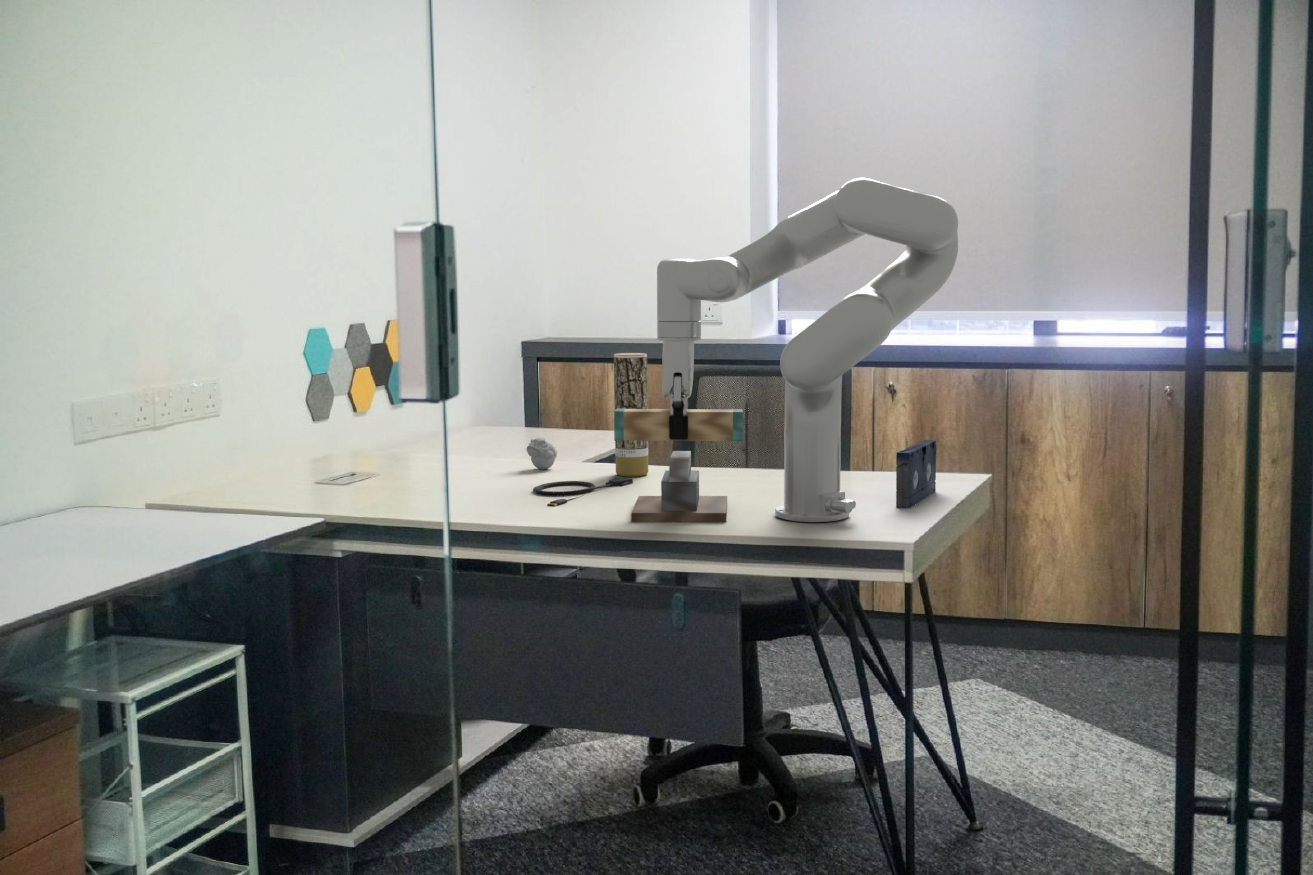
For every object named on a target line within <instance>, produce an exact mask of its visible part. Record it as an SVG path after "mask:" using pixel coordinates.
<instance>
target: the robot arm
mask: <svg viewBox="0 0 1313 875" xmlns="http://www.w3.org/2000/svg"><path fill="white" fill-rule="evenodd" d="M958 229H959V218H958V215H957V211H956V209H955V208H954V206H952V204H950V202H948V201H947V200H945V199H944V198H942V197H939V196H937V195H936V196H935V195H931V194H926V193H925V192H924V193H922V192H920V191H915V190H912V189H908V188H903V187H900V186H897V185H896V186H895V185H892V184H889V183H886V182H883V181H882V182H881V181H878V180H875V179H871V178H866V177H858V178H853V179H851V180H849V181H847V182H845V183H844V184H843V185H842V186H841V187H840V189H837V190H836V191H835V192H832V193H831V194H829V195H827V196H825V197H824V198H822V199H820V200H818V201H816V202H814V203H812V204H810V205H808V206H806V207H805V208H802V209H801V210H798V211H797V212H794V213H792V214H791V215H788V216H787V217H786V218H784V219H783V220H781V221H780V222H778V223H777V225H775V227H773V228H772V229H771V230H770V231H769V232H768V233H767V234H764V235H763V236H762V237H760V238H759V239H757V240H755V241H753V242H751V243H750V244H748V245H746V246H744V247H742V248H740V249H738V250H737V251H734V252H732V253H731V254H729V255H727V256H724V257H721V256H720V257H713V258H707V259H700V260H699V259H698V260H697V259H694V258H668V259H663V260H660V261H659V263H658V264H657V268H656V313H657V314H656V320H657V321H656V331H657V332H656V334H657V335H656V336H657V337H656V339H657V341H659V342H660V341H662V342H663V343H662V353H661V354H662V356H661V358H662V359H661V360H662V362H661V363H662V364H661V365H662V366H661V367H662V368H661V371H662V372H661V374H662V375H661V398H663V399H666V398H667V397H668V396H670V397H669V398H670V399H669V400H670V407H669V409H670V416H669V438H670V439H671V440H686V439H688V416H686V409H689V398H690V397H691V395H692V393H693V382H694V371H695V370H694V369H695V367H694V366H695V365H694V364H695V361H694V360H695V342H696V341H701V340H702V321H701V320H702V301H704V302H705V301H707V302H712V303H713V302H714V303H727V302H730V301H735V300H738V299H740V298H741V297H744V296H746V295H747V294H750V293H751V292H753V291H755V290H757V289H759V288H761V287H763V286H764V285H766V284H768V283H771V282H773V281H775V280H776V279H778V278H780V277H782V276H784V275H785V274H788V273H790V272H793V271H795V270H798V269H801V268H803V267H806V266H807V265H809V264H811V263H813V262H815V261H816V260H818V259H820V258H822V257H824V256H826V255H828V254H830V253H831V252H834V251H836V250H837V249H839V248H841V247H843V246H845V245H847V244H849V243H852V242H853V241H855V240H857V239H859V238H860V237H862V236H863V237H864V236H865V235H868V236H870V237H874V238H878V239H881V240H885V241H889V242H893V243H896V244H901V245H905V246H906V247H905V249H904V251H903V252H902V254H901V255H900V256H899V257H897V258H896V260H895V261H893V262H892V263H891V264H889V265H888V266H887V267H886V268H884V270H882V271H881V272H880V273H878V275H876V276H875V277H873V279H872V280H870V281H869V282H868V283H866V284H864V285H863V286H862V287H860V289H858V290H856V291H853V292H852V293H849V294H848V295H846V296H845V297H843V298H842V299H841V300H839V301H838V302H837V303H836V304H835V305H834V306H832V307H830V309H828V311H826V312H825V313H823V314H822V315H821V316H820V317H818V318H817V319H815V321H813V322H812V323H811V324H809V325H808V326H807V327H806V328H804V329H803V330H802V331H801V332H800V333H798V334H797V335H796V336H794V337H793V338H792V339H791V340H790V341H788V342H787V344H786V345H785V346H784V348H783V350H782V351H781V355H780V358H779V360H780V361H779V367H780V372H781V375H782V378H784V381H785V382H784V383H785V385H784V387H785V388H784V441H783V442H784V445H783V446H784V452H783V453H784V454H783V455H784V456H783V457H784V458H783V459H784V460H783V461H784V463H783V464H784V466H783V467H784V468H783V469H784V470H783V471H784V472H783V478H784V479H783V480H784V481H783V482H784V483H783V484H784V488H783V489H784V491H783V494H784V496H783V500H784V501H783V504H781V505H778V506H776V508H775V510H774V516H776V517H777V518H779V519H782V520H785V521H791V522H800V523H803V522H804V523H825V522H826V523H827V522H838V521H842V520H845V519H847V518H849V516H850V514H851V513H852V511H853V510H854V509H855V508H856V507H857V506H856V505H857V504H856V503H857V502H856V501H855V500H852V499H846V491H845V490H841V452H842V451H841V448H842V447H841V444H842V443H841V442H842V441H841V436H842V431H841V430H842V390H843V389H842V388H843V387H842V386H843V384H842V382H843V375H844V374H846V373H847V372H848V371H850V370H851V369H852V368H853V367H854V366H855V365H857V364H858V363H860V361H862V360H863V359H865V358H866V357H867V356H868V355H869V354H871V353H873V351H875V350H876V349H877V348H878V347H880V345H882V344H883V343H884V342H885V341H886V339H887V338H889V335H890V334H891V332H892V331H893V330H894V329H895V328H896V327H898V325H900V324H901V323H902V322H904V320H906V319H908V318H909V316H911V315H912V314H913V313H914V312H916V311H917V310H918V309H919V308H920V307H922V306H923V305H924V304H925V303H926V302H928V300H930V299H931V298H932V297H933V296H934V295H936V293H937V292H939V291H940V289H941V288H942V287H943V286H944V285H945V283H946V282H947V280H948V279H949V278H950V276H951V275H952V272H953V270H954V267H955V265H956V262H957V258H958V257H957V256H958V253H959V252H958V251H959V236H958V235H959V234H958Z"/></svg>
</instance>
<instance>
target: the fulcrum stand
mask: <svg viewBox="0 0 1313 875" xmlns="http://www.w3.org/2000/svg"><path fill="white" fill-rule="evenodd" d="M668 463H669V464H668V468H669V469H666V470H664V473H663V477H662V479H661V482H660V493H661V494H660V495H638V497H637V499H636V501H635V503H634V506H633V509H632V510H631V513H630V514H631V515H630V518H631V519H630V522H633V523H634V522H635V523H637V522H639V523H642V522H643V523H646V522H647V523H649V522H651V523H652V522H653V523H654V522H655V523H656V522H657V523H659V522H662V523H666V522H668V523H669V522H670V523H675V522H676V523H695V522H696V523H726V522H727V513H728V496H727V495H700V470H699V469H697V470H692V451H691V450H673V451H672V452H671V455H670V458H669V462H668Z"/></svg>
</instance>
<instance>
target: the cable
mask: <svg viewBox="0 0 1313 875" xmlns="http://www.w3.org/2000/svg"><path fill="white" fill-rule="evenodd" d="M633 480H634V479H633V477H622V476H620V477H619V476H615V477H614V478H611V479H609V480H608V481H607V482H605V484H603V485H599V486H596V485H595V484H594V483H593V482H588V481H583V480H565V481H563V480H562V481H554V482H553V481H552V482H547V483H541V484H539V485H537V486H534V487H533V488H532V490H533V492H534V493H535V494H536V495H539V496H546V497H570V496H571V497H572V496H575V497H573V498H569V499H566V498H559V499H556V500H553V501H550V502H549V503H547V505H546V506H547V507H553V508H554V507H559V506H562V505H565V504H567V503H568V502H571V501H572V500H573V501H574V500H576V499H579V498H581V497H584V496H585V495H587V494H590V493H592V492H594V491H595V490H599V489H603V488H608V487H609V488H611V487H623V486H628V485H632V484H634V481H633ZM568 486H569V487H572V486H573V487H574V486H575V487H585V488H582V489H574V490H566V491H565V490H563V491H560V490H559V491H549V490H548V491H547V490H545V489H551V488H557V487H568ZM579 495H581V496H579ZM576 496H577V497H576Z"/></svg>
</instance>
